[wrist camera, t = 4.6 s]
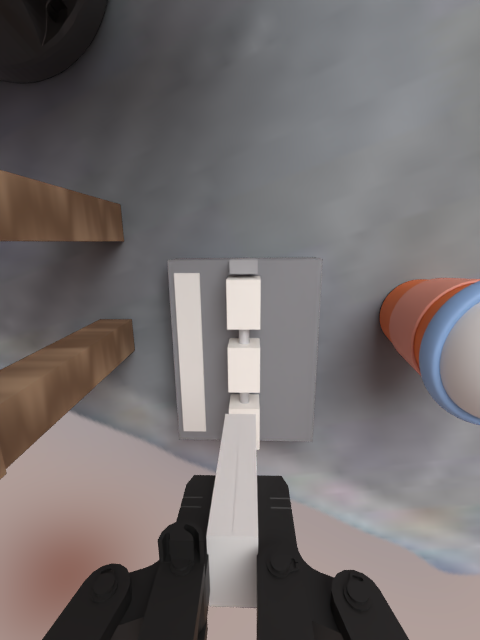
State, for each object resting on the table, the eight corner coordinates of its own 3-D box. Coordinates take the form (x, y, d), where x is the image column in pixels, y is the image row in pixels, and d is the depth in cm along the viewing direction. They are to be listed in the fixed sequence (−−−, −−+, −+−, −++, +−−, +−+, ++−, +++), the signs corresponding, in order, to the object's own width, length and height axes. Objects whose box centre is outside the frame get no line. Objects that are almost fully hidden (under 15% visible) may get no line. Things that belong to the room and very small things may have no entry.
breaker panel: (176, 257, 27) (159, 260, 22) (314, 256, 26) (329, 259, 21) (186, 421, 31) (173, 455, 26) (306, 423, 30) (316, 457, 25)
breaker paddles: (228, 276, 24) (226, 279, 21) (259, 275, 24) (260, 279, 21) (231, 431, 27) (229, 449, 25) (258, 431, 27) (259, 449, 25)
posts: (82, 205, 26) (-221, 138, 9) (123, 204, 26) (-110, 135, 9) (101, 349, 29) (-100, 493, 12) (137, 350, 29) (-17, 495, 12)
